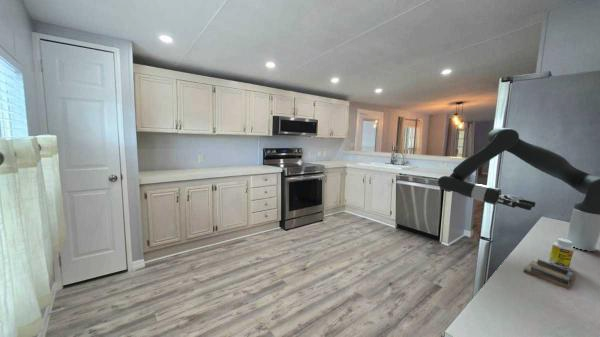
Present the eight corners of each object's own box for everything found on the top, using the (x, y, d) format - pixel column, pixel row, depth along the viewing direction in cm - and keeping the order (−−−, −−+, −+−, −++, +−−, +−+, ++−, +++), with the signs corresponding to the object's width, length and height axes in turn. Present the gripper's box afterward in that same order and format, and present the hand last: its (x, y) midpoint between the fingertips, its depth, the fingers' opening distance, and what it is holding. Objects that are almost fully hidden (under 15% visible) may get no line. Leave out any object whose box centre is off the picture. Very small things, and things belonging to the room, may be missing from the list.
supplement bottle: (554, 266, 91) (561, 242, 89) (544, 259, 96) (550, 235, 95) (573, 270, 90) (580, 244, 88) (562, 262, 95) (568, 238, 93)
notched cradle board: (532, 262, 93) (533, 256, 93) (574, 277, 84) (575, 271, 84) (523, 271, 87) (524, 265, 86) (567, 289, 78) (569, 282, 77)
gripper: (483, 187, 104) (533, 200, 92) (492, 184, 113) (538, 195, 101) (478, 203, 106) (527, 217, 94) (487, 199, 115) (533, 212, 103)
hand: (533, 206), depth 98 cm, fingers open, 8 cm apart
